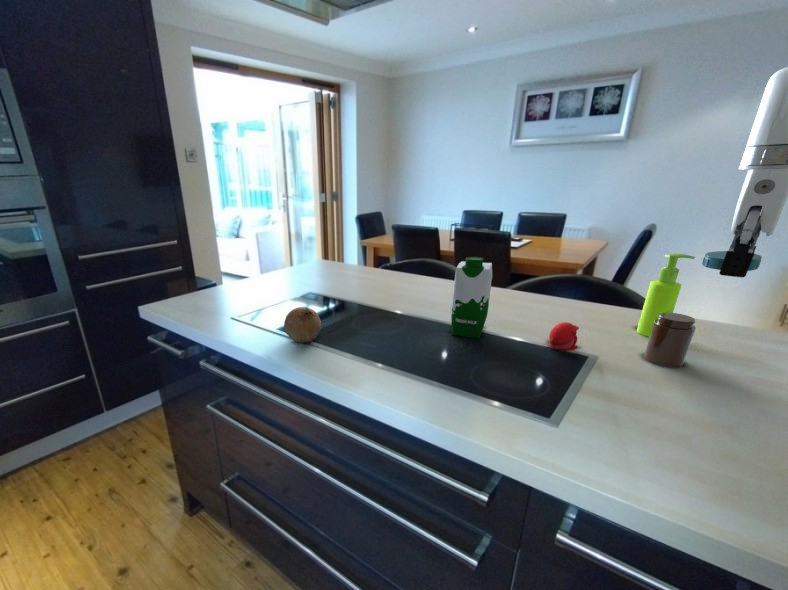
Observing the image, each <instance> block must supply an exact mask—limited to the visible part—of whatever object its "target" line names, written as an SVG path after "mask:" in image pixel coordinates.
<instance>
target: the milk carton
mask: <svg viewBox="0 0 788 590" xmlns="http://www.w3.org/2000/svg"><path fill="white" fill-rule="evenodd" d="M492 280H493V263H492V262H484V258H483V257H480V256H468V257H466V258H465V261H460V262H459V263H458V264H457V266H456V268H455V273H454V282H453V289H452V291H453V292H452V303H451V304H452V305H451V313H450V314H451V316H450V318H451V319H450V320H451V321H450V322H451V336H455V337H464V338H472V339H480V338H481V336H482V333H483V329H484V327H485V323H486V321H487V317H488V313H489V306H490V297H491V291H492Z"/></svg>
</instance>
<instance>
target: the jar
mask: <svg viewBox="0 0 788 590" xmlns="http://www.w3.org/2000/svg"><path fill="white" fill-rule="evenodd" d="M695 324H696V319H695V318H694V317H693V316H689V315H686V314H683V313H677V312H673V313H661V314H659V317H658V320H655V321H654V325H653V328H652V331H651V335H650V337H648V341H647V345H646V349H645V352H644V355H643V358H644V359H645V360H646V362H647V361H648V362H649V363H652V364H653V365H658V366H662V367H666V368H667V367H668V368H679V367H682V366H683V365H684V364H685V363H684V362H685V361H686V357H687V355H688V351H689V348H690V345H691V343H692V340H693V337H694V334H695V331H696V326H695Z"/></svg>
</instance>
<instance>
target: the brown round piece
mask: <svg viewBox="0 0 788 590" xmlns="http://www.w3.org/2000/svg"><path fill="white" fill-rule="evenodd" d="M283 322H284V323H283V326H284V332H285V334H286V335H287V336H288V337H289V338H290V339H291V340H293V342H294V343H303V344H306V343H309V342H312V341H314V340H315V339H316V338H317V337H318V336H319V334H320V332H321V329H322V320H321V318H320V316H319V314H318V312H316V311H315V310H314V309H312V308H310V307H306V306H298V307H295V308H293V309H291V310H290V311H289V312H288V313H287V314H286V316H285V319H284V321H283Z"/></svg>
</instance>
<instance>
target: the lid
mask: <svg viewBox="0 0 788 590" xmlns="http://www.w3.org/2000/svg"><path fill="white" fill-rule="evenodd" d="M727 251H728V250H717V251H716V250H715V251H709V252H706V253H705V255H704V257H703V259H702V262H701V264H702V266H703V267H705V268H708V269H711V270H718V271H720V270H721V267H722V264H723V261H724V258H725V255H726V253H727ZM762 258H763V257H762V255H760V254H757V253H754V256H753V258H752V261H751V264H750V266H749V269H748V272H751V271H756V270H758V269H759V267H760V265H761V262H762Z"/></svg>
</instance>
